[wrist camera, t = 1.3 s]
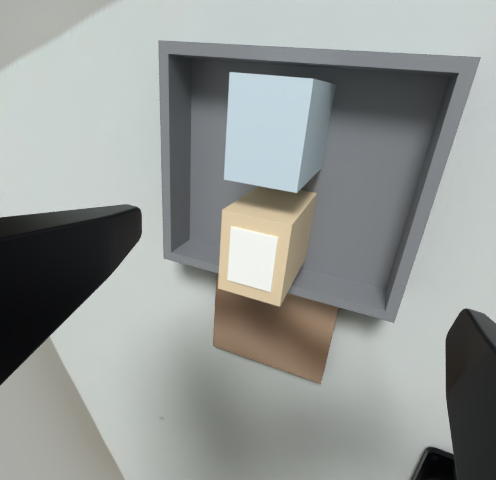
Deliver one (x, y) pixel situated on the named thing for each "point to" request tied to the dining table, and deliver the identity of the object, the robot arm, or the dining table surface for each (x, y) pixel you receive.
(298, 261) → the carton tan
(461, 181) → the dining table surface
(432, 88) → the bin
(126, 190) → the dining table surface
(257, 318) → the board
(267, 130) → the carton blue
